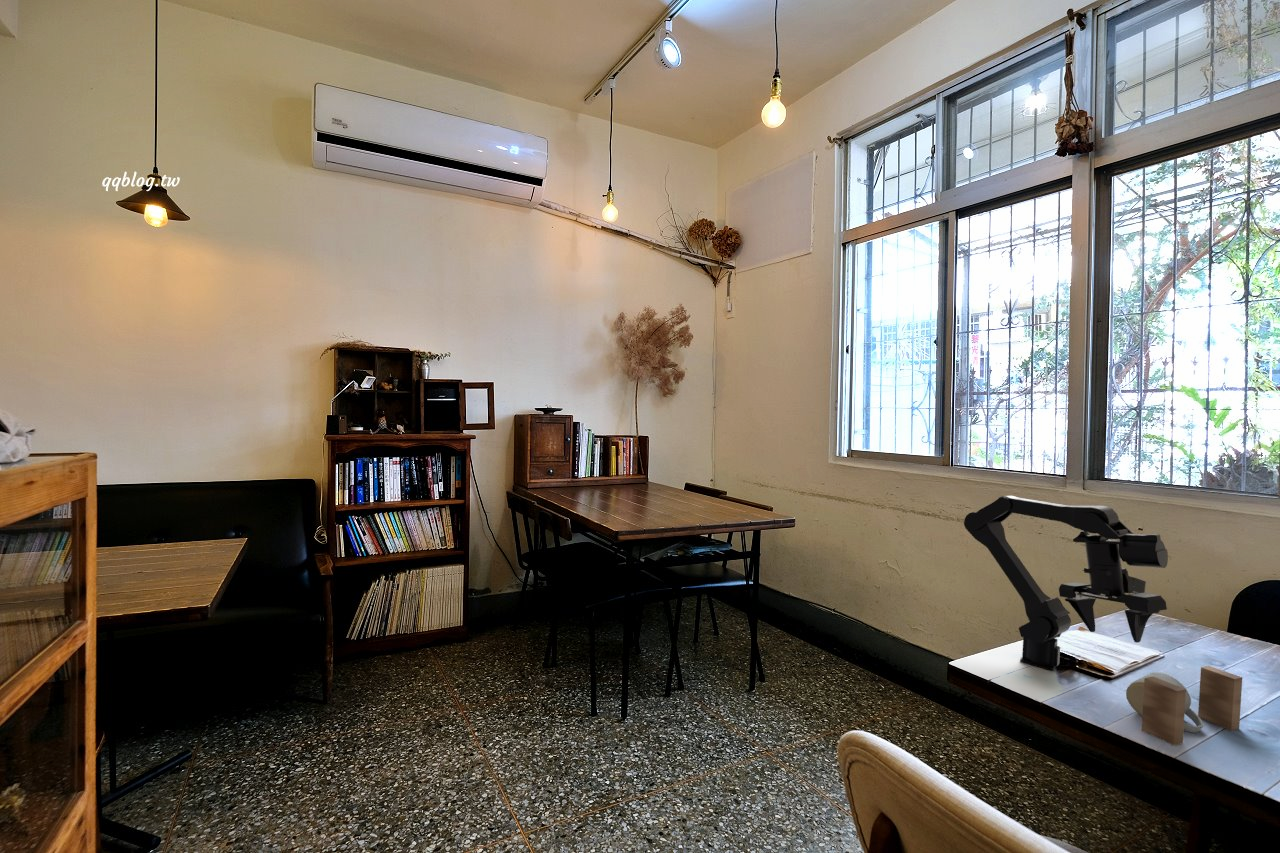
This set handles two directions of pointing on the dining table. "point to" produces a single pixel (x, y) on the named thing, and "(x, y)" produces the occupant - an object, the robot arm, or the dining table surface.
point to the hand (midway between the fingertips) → (1114, 636)
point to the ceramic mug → (1137, 693)
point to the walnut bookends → (1169, 704)
